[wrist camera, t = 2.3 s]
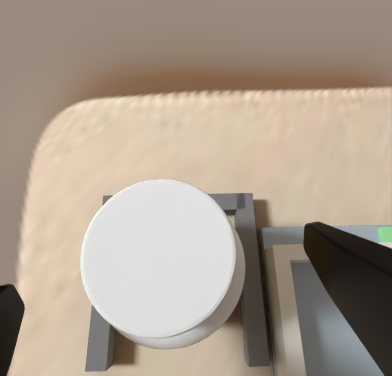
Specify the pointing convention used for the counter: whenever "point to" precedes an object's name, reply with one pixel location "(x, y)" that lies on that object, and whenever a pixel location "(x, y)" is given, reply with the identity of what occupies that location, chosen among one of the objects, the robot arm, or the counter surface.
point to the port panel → (310, 309)
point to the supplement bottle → (163, 264)
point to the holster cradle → (250, 296)
